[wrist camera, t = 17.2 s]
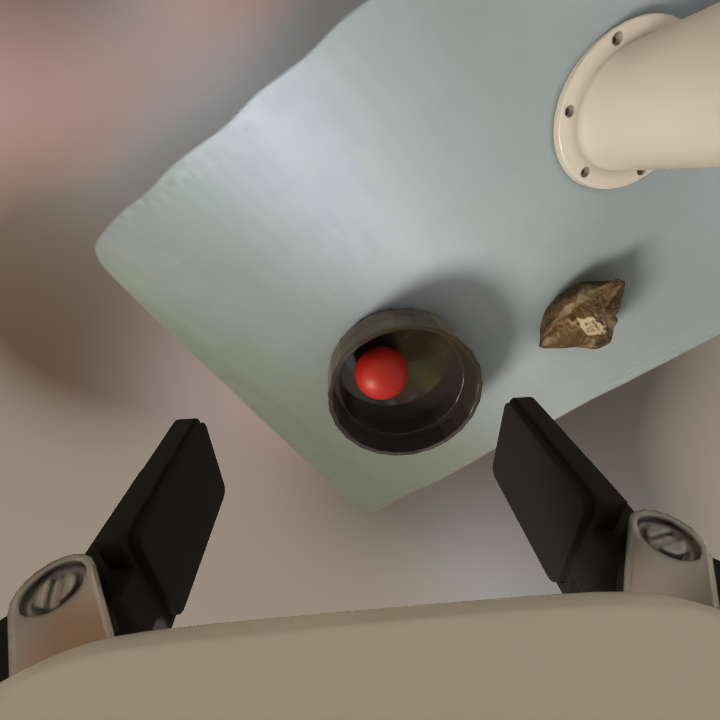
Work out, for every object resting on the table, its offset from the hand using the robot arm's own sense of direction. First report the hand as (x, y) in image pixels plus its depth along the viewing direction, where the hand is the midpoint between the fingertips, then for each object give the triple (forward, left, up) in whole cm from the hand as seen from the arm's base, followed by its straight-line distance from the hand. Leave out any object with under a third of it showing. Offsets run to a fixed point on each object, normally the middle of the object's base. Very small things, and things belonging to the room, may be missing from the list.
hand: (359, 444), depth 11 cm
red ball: (-4, +12, -25) cm, 28 cm away
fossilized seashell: (-26, +7, -28) cm, 39 cm away
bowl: (-6, +14, -28) cm, 32 cm away
